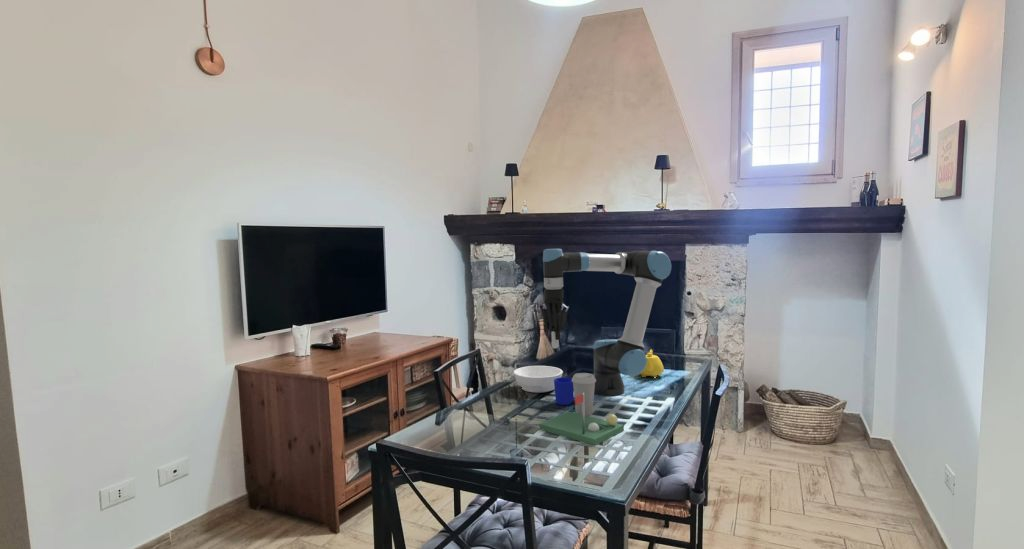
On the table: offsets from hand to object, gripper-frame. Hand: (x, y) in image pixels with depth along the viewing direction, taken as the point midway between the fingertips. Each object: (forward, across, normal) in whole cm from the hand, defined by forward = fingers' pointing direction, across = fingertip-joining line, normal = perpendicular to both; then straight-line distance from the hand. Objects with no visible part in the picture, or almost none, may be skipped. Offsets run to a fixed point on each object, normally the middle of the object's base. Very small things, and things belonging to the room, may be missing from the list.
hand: (555, 347), depth 215 cm
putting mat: (+26, +19, -12) cm, 34 cm away
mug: (+26, -2, +11) cm, 28 cm away
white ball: (+24, +25, -13) cm, 37 cm away
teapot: (+27, +3, +71) cm, 76 cm away
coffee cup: (+26, +10, +4) cm, 28 cm away
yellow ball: (+22, +29, -6) cm, 36 cm away
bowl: (+26, -26, +20) cm, 42 cm away
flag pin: (+23, +25, -21) cm, 40 cm away
